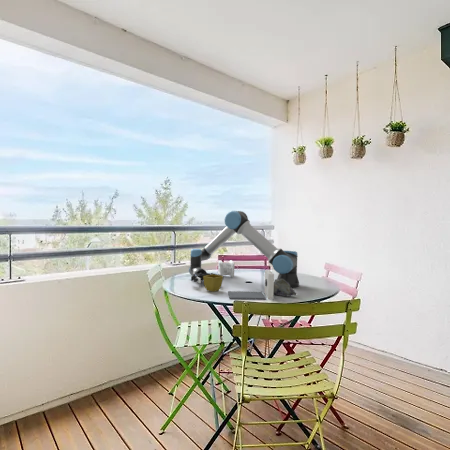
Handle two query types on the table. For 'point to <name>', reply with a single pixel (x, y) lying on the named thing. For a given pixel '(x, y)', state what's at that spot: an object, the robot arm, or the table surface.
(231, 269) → the cable organizer
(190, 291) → the table surface
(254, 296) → the mat
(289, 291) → the mineral rock
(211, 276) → the flower pot
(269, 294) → the wall socket block
